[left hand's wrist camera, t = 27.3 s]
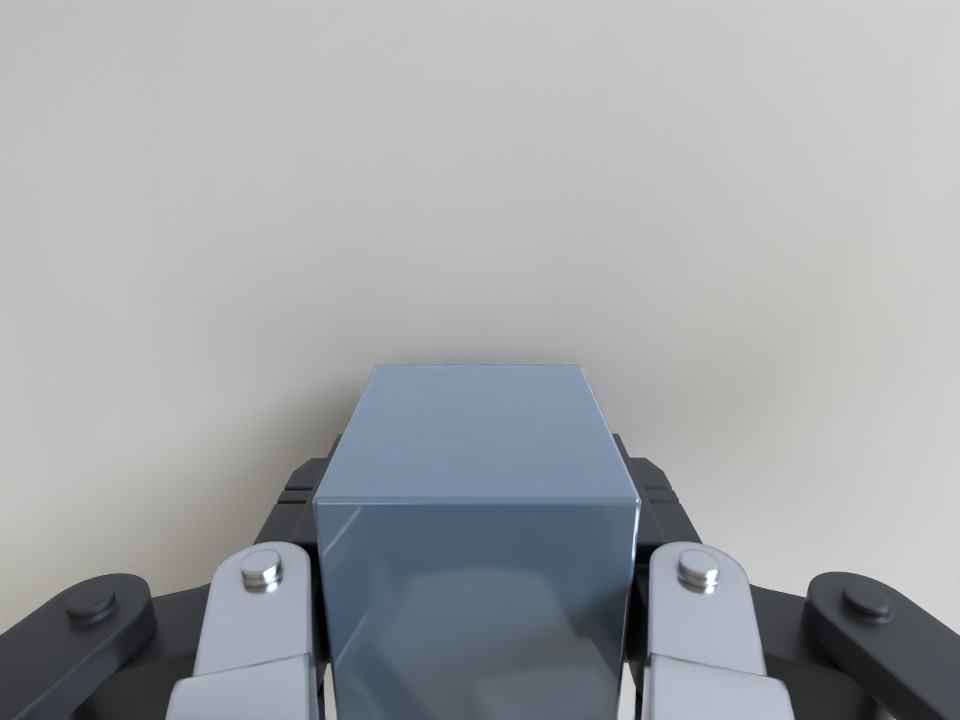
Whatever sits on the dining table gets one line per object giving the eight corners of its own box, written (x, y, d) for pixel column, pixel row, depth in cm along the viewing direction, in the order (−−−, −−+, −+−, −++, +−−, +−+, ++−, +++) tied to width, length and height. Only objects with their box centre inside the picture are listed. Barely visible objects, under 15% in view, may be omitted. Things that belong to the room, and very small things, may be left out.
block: (373, 362, 12) (309, 499, 7) (582, 363, 12) (644, 499, 7) (386, 558, 13) (339, 767, 9) (569, 558, 13) (614, 768, 9)
